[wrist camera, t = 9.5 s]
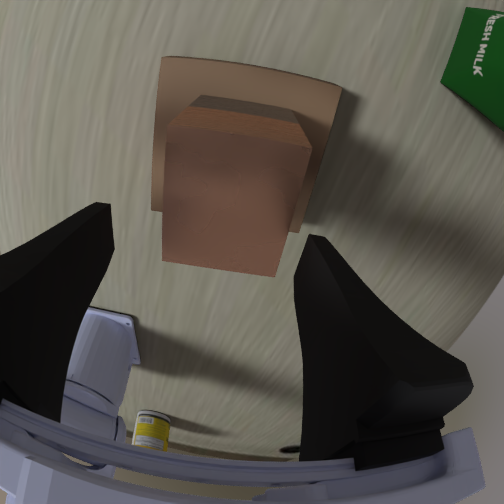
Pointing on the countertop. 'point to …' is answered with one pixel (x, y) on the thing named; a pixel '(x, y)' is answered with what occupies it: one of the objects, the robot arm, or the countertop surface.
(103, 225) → the robot arm
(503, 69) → the milk carton
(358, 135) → the countertop surface
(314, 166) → the walnut stand
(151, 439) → the supplement bottle
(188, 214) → the block
